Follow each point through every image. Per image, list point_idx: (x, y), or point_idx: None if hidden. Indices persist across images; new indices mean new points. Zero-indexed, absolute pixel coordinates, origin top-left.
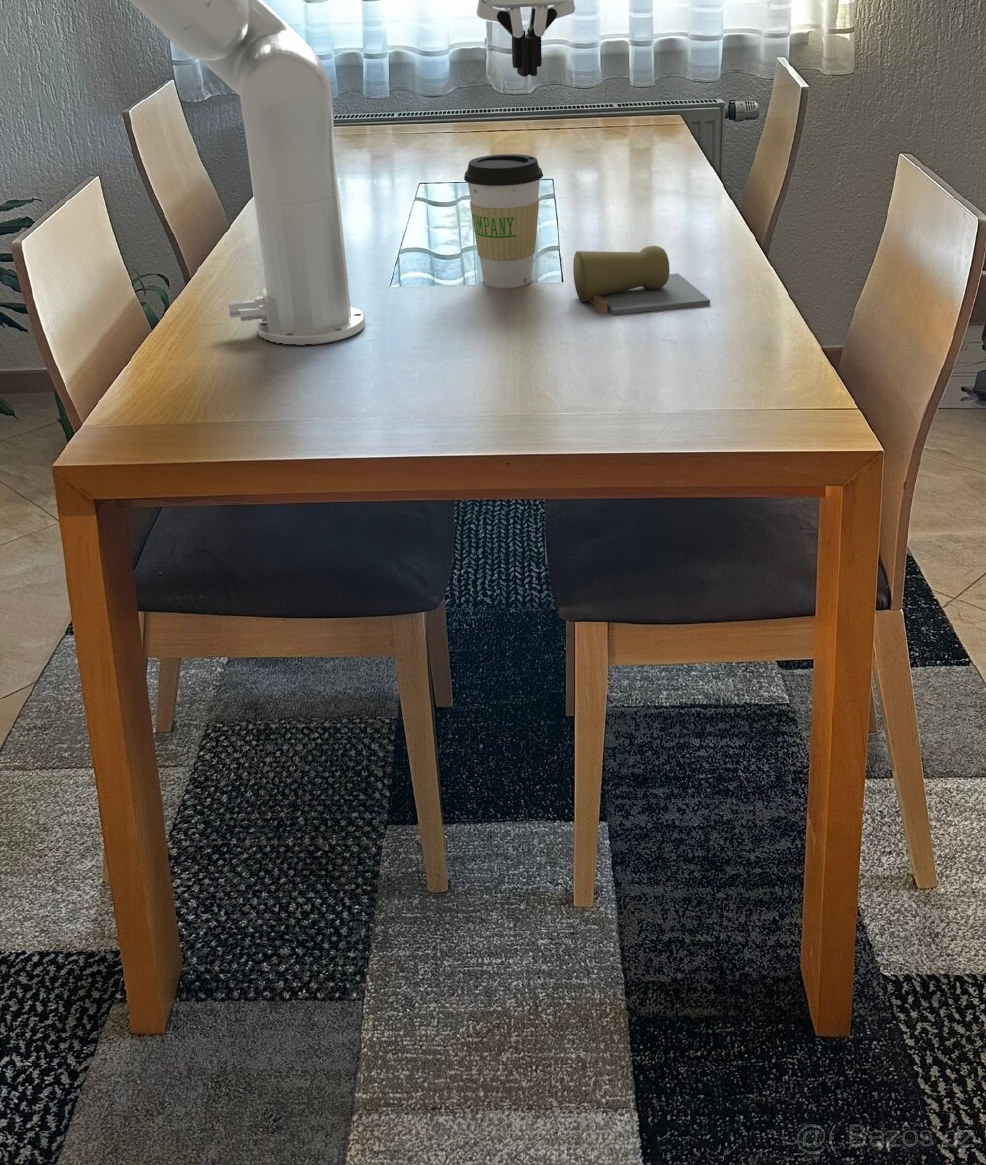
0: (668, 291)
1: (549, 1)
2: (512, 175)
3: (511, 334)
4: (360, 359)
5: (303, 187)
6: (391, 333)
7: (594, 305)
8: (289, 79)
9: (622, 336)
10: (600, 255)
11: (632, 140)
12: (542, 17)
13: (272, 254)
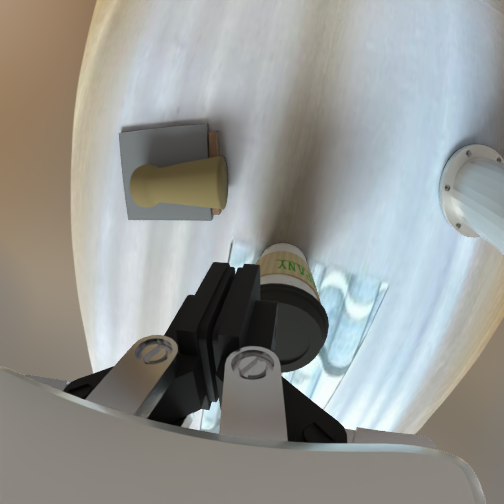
0: None
1: (32, 389)
2: (274, 293)
3: (319, 97)
4: (455, 92)
5: None
6: (424, 147)
7: (218, 154)
8: None
9: (215, 61)
10: (195, 180)
11: None
12: (118, 386)
13: None
